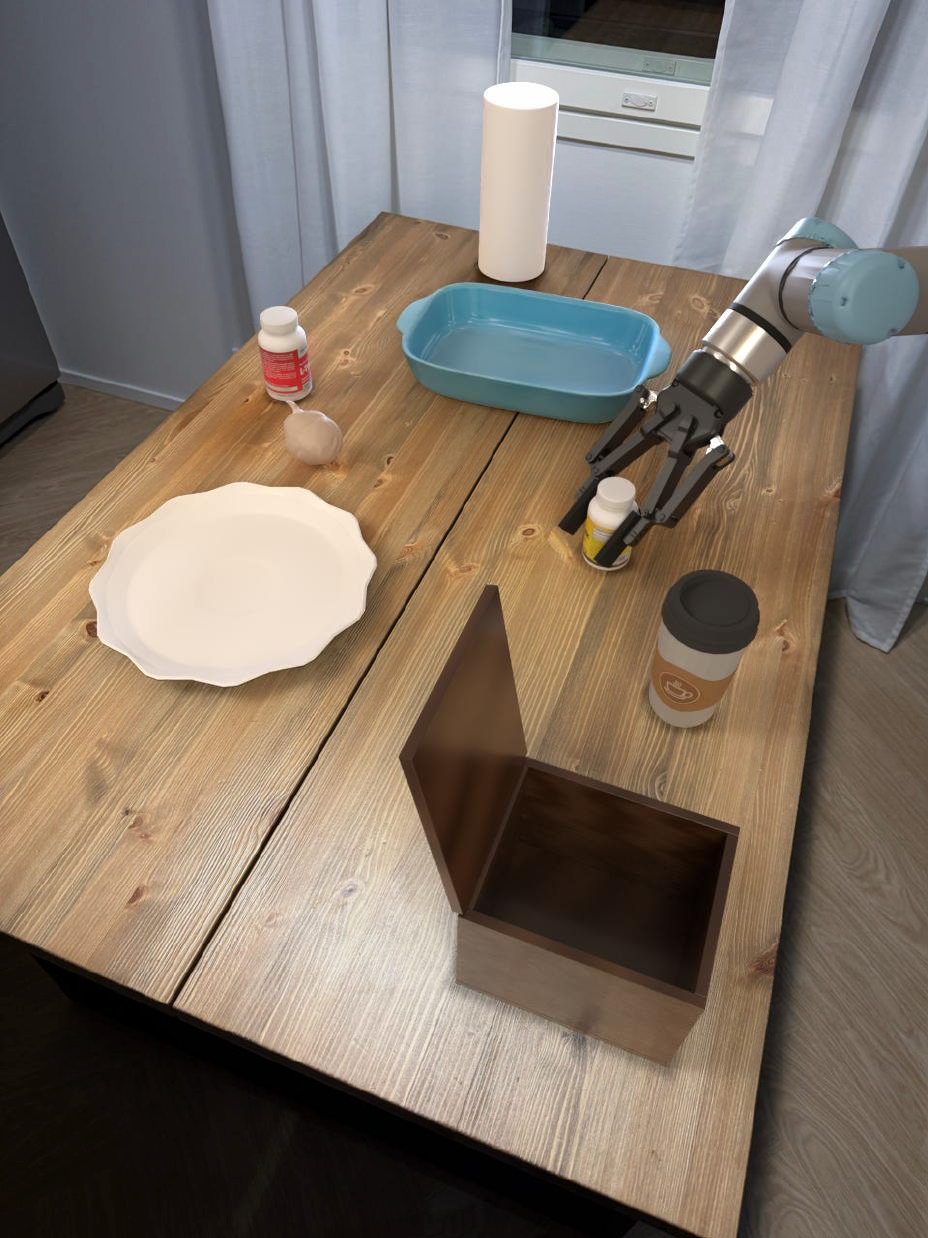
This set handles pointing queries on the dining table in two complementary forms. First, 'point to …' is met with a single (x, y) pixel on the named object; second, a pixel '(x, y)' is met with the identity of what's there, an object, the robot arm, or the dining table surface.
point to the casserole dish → (531, 351)
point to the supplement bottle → (608, 519)
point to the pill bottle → (284, 354)
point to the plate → (232, 584)
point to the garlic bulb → (311, 436)
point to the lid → (467, 750)
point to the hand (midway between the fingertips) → (583, 546)
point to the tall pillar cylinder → (516, 179)
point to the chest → (599, 910)
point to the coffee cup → (700, 644)
